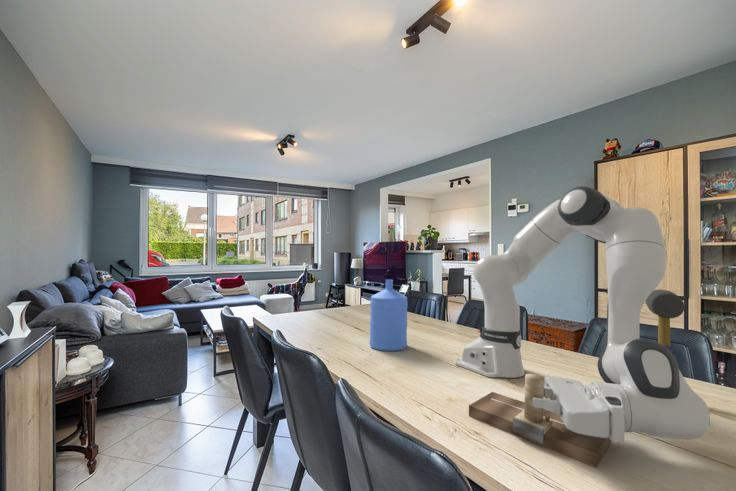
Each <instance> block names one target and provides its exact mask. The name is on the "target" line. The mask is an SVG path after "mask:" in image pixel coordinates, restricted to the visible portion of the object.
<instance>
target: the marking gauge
mask: <svg viewBox="0 0 736 491" xmlns="http://www.w3.org/2000/svg"><path fill="white" fill-rule="evenodd" d="M544 379H545V377H543V376H541V375H539V374H535V373H525V374H524V402H525V404H524V410H523V411H522V412H521V413H519V414H518V415H517V416H515V417H514V418H513V431H514V432H517V433H519V434H522V435H524V436H526V437H529V438H531V439H534V440H536V441H538V442H541V443H543V442H544V434H545V433H546V432H547V431H548V430H549V429H550V428H551V427H552V423H553V420H550V417H549V416H546V417H545V418H544V417H543V408H537V407H534V406H533V404H532V396H539V397H541V398H543V399H544V397H543V392H544Z"/></svg>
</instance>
